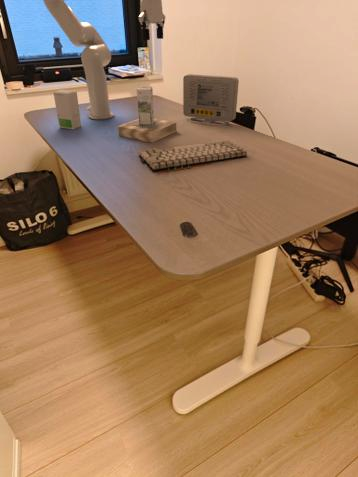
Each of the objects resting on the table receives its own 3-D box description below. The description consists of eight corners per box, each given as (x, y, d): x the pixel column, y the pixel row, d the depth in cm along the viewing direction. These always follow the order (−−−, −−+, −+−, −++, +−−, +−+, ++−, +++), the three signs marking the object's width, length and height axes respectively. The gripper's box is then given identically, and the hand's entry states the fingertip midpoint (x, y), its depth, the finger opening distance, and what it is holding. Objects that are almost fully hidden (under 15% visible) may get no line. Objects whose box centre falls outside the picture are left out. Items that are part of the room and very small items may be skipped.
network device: (236, 122, 160) (240, 76, 149) (230, 127, 154) (233, 79, 142) (188, 116, 170) (189, 73, 159) (180, 121, 164) (180, 75, 152)
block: (191, 227, 85) (191, 221, 84) (198, 239, 80) (199, 232, 79) (177, 228, 84) (178, 221, 83) (184, 239, 79) (185, 233, 78)
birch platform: (118, 135, 145) (117, 125, 143) (144, 125, 158) (144, 116, 155) (151, 142, 137) (151, 132, 134) (176, 131, 149) (176, 121, 147)
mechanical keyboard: (225, 144, 136) (225, 135, 134) (251, 160, 122) (252, 151, 120) (136, 158, 125) (135, 149, 123) (153, 177, 110) (152, 168, 108)
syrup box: (154, 121, 147) (152, 86, 139) (152, 125, 142) (150, 88, 134) (141, 121, 148) (139, 86, 139) (138, 125, 143) (136, 88, 134)
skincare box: (59, 127, 156) (51, 91, 147) (68, 124, 161) (61, 89, 152) (74, 129, 153) (67, 93, 144) (82, 125, 158) (76, 90, 149)
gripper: (156, -9, 144) (158, 37, 154) (130, -10, 133) (134, 40, 142) (170, -9, 141) (171, 38, 151) (145, -11, 129) (148, 40, 139)
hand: (153, 39), depth 146 cm, fingers open, 9 cm apart
